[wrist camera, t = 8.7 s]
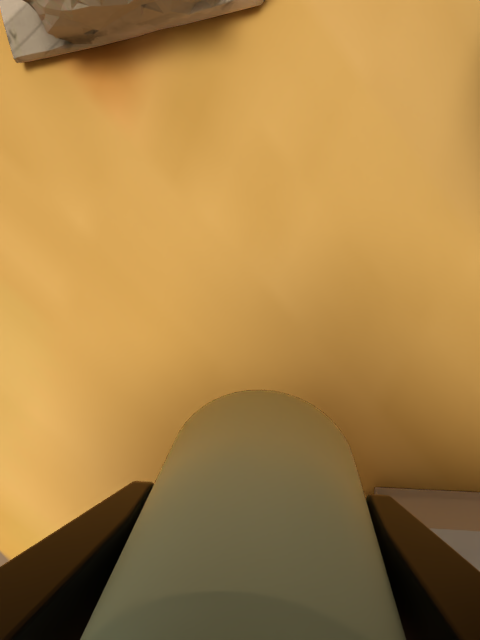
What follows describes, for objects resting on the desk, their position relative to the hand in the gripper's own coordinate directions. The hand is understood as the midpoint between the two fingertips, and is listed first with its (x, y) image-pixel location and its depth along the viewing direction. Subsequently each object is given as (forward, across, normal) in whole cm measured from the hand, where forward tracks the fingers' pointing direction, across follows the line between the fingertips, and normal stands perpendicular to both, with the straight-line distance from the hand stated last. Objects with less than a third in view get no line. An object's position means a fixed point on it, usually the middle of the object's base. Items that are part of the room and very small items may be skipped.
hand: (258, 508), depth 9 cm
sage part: (+1, 0, 0) cm, 1 cm away
